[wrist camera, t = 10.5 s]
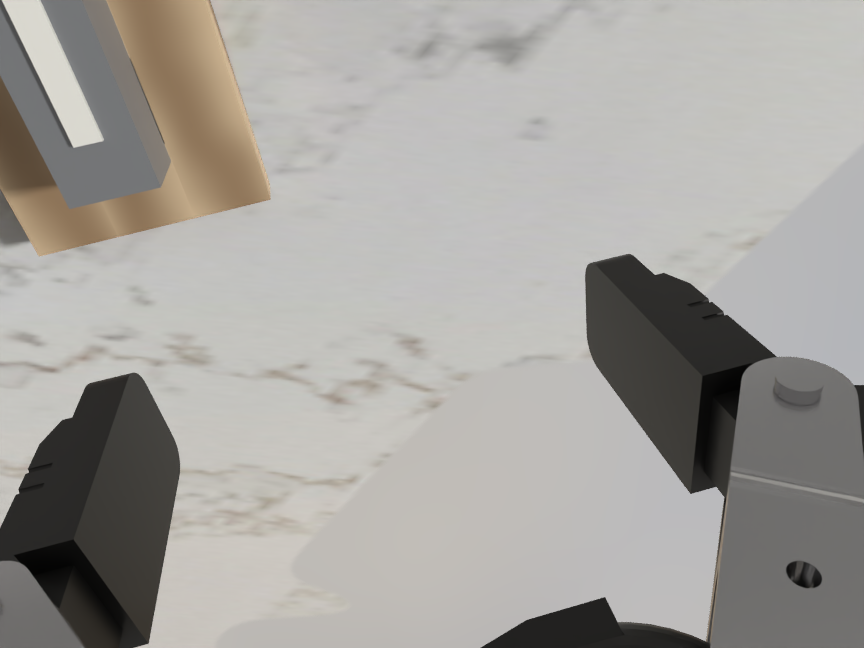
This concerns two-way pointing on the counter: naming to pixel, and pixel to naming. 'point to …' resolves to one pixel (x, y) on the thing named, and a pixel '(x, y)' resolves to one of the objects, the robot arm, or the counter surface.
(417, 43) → the counter surface
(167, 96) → the socket board
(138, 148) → the strip
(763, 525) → the robot arm
